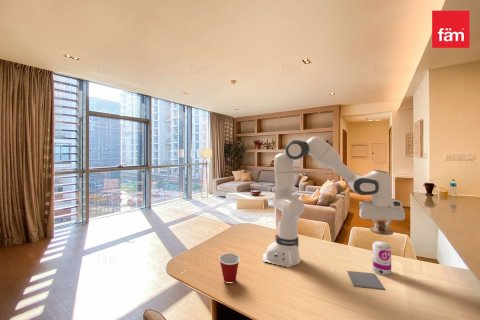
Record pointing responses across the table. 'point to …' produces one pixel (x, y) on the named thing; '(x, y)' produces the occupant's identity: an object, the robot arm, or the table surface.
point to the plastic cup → (229, 266)
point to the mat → (365, 280)
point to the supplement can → (381, 257)
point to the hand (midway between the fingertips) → (381, 227)
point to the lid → (381, 229)
